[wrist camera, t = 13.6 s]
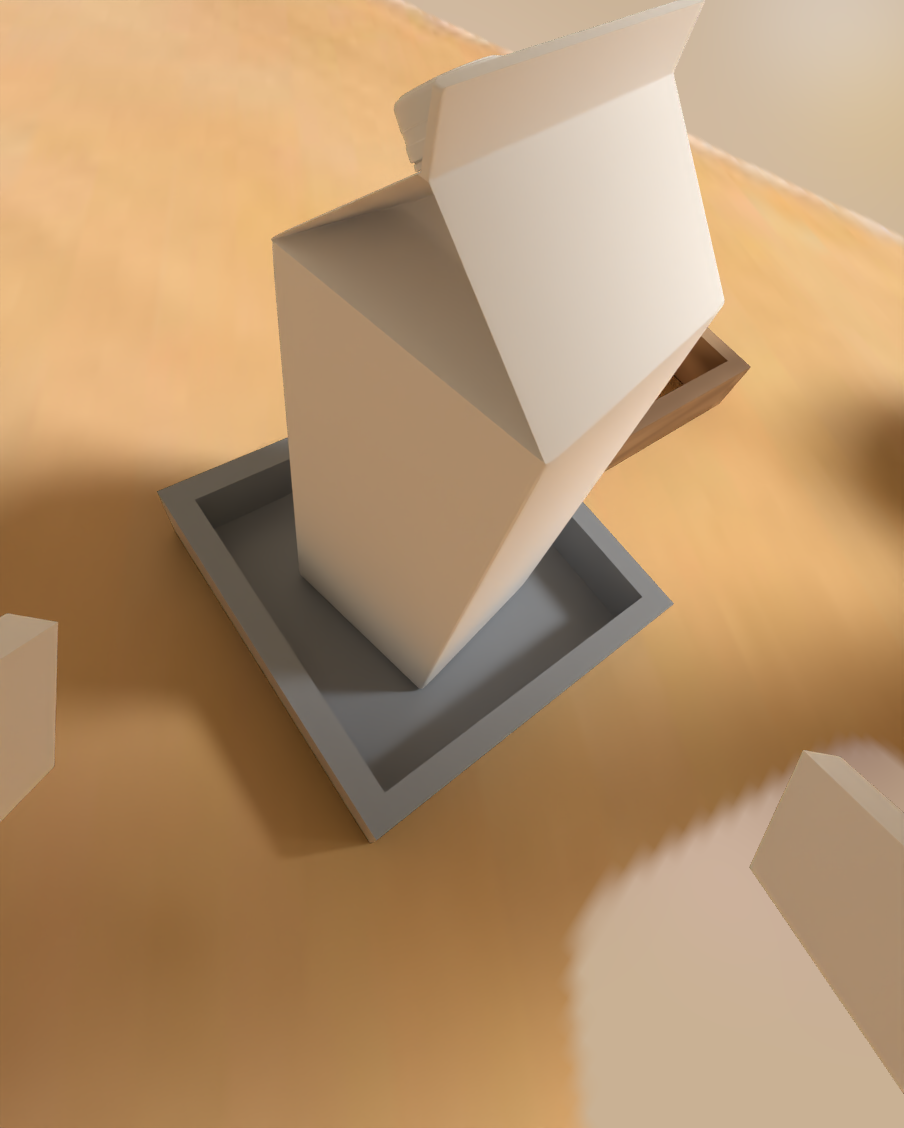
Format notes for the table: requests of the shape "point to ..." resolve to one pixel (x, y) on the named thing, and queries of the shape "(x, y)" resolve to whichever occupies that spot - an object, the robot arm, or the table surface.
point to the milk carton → (490, 327)
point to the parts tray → (365, 675)
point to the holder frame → (688, 393)
